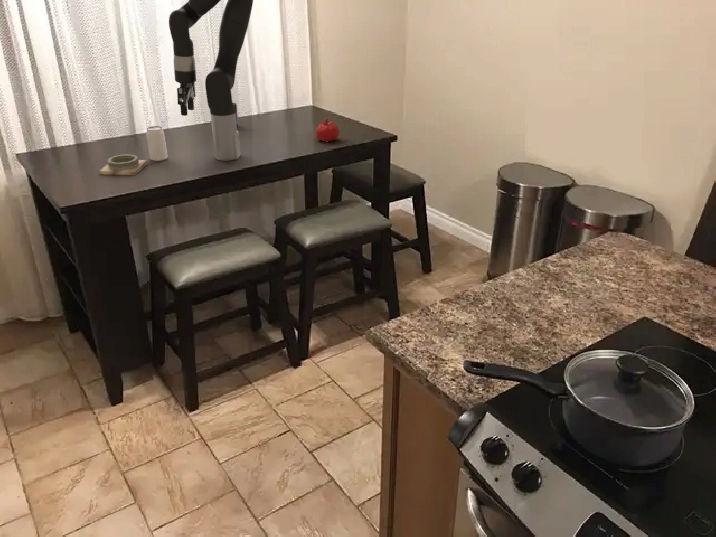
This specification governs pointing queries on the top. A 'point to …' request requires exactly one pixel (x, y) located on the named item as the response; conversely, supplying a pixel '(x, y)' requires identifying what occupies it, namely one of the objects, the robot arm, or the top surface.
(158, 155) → the can
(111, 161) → the can holder
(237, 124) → the supplement container
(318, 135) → the pomegranate
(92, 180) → the top surface
